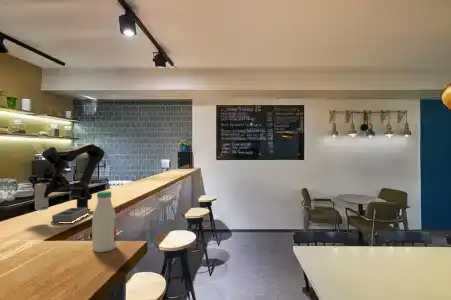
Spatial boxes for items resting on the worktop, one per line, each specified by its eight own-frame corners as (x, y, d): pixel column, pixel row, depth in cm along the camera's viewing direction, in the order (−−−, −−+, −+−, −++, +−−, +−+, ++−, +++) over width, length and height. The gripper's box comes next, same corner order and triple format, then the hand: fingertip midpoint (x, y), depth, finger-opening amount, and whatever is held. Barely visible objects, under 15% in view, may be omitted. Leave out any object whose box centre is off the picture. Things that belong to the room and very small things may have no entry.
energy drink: (50, 207, 138) (50, 183, 138) (43, 210, 133) (43, 184, 132) (39, 207, 138) (39, 183, 138) (32, 210, 133) (31, 184, 132)
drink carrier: (70, 215, 151) (70, 207, 151) (89, 214, 151) (89, 207, 151) (50, 224, 133) (50, 215, 133) (72, 223, 133) (72, 215, 133)
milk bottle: (110, 252, 96) (110, 193, 96) (88, 252, 96) (87, 193, 96) (119, 245, 104) (119, 190, 104) (98, 245, 104) (98, 190, 104)
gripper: (30, 159, 140) (10, 185, 130) (64, 159, 137) (47, 185, 127) (43, 173, 148) (26, 198, 137) (76, 174, 145) (60, 199, 134)
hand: (39, 195), depth 134 cm, fingers closed on energy drink, 5 cm apart
